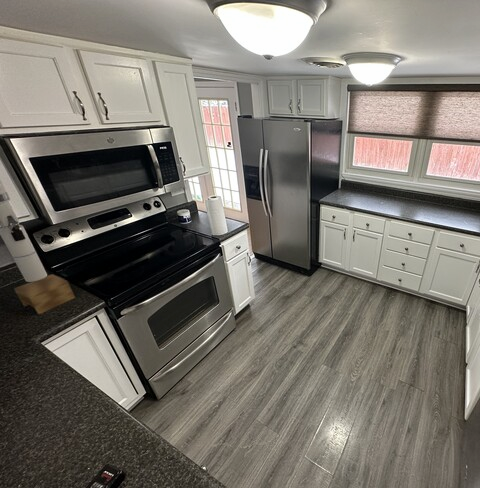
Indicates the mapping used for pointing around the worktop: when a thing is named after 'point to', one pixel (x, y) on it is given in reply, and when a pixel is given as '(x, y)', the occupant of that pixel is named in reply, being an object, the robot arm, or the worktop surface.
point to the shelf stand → (45, 293)
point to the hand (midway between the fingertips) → (15, 238)
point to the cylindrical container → (24, 255)
